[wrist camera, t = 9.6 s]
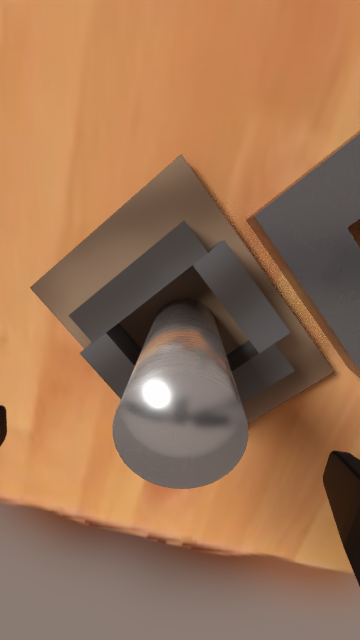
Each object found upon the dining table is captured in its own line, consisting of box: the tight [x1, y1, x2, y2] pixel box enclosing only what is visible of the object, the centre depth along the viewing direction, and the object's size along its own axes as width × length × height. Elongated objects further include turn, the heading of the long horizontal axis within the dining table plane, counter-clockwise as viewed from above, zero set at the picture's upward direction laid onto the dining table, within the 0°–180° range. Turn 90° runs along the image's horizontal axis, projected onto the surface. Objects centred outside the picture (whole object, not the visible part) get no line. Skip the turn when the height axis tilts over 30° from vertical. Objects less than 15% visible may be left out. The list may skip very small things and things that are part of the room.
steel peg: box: [113, 298, 248, 489], centre depth 13 cm, size 4×4×10 cm
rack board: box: [30, 155, 334, 424], centre depth 17 cm, size 16×12×4 cm
